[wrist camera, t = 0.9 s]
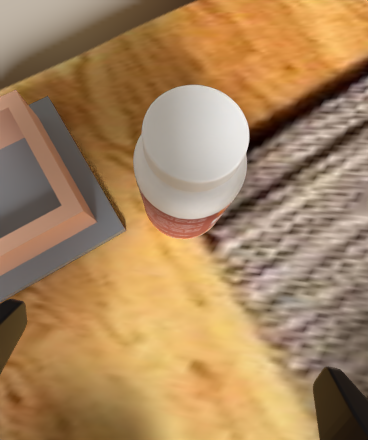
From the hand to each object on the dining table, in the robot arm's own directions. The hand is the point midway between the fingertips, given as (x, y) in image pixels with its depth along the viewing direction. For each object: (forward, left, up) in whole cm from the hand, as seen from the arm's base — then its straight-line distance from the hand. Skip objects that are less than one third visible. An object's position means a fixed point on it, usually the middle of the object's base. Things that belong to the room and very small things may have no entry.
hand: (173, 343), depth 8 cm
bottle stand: (+2, +15, -13) cm, 20 cm away
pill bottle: (+8, +3, -13) cm, 16 cm away
